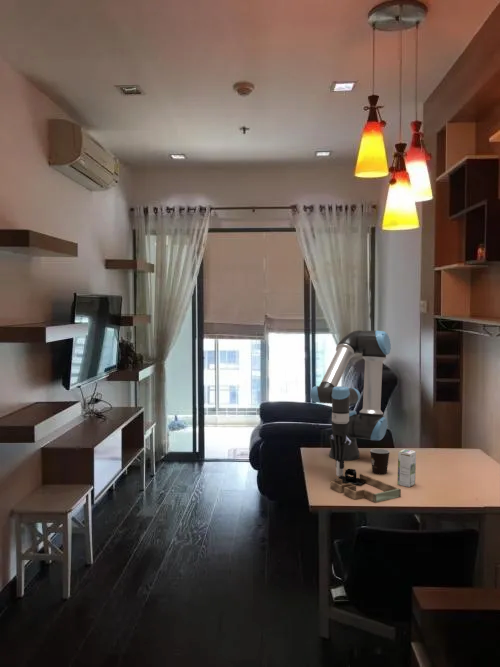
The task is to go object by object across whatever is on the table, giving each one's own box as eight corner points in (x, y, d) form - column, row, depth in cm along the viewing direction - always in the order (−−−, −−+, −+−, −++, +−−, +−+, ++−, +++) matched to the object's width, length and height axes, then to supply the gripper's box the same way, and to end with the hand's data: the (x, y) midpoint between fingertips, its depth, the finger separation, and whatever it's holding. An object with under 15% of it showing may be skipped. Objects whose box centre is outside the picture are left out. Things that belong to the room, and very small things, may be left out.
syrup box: (402, 481, 235) (403, 448, 234) (415, 484, 231) (416, 450, 231) (397, 484, 230) (397, 451, 230) (410, 487, 227) (410, 453, 226)
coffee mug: (389, 475, 243) (389, 453, 243) (370, 474, 245) (370, 452, 245) (388, 468, 255) (388, 447, 254) (369, 467, 256) (369, 446, 256)
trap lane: (327, 486, 228) (327, 479, 228) (360, 480, 237) (361, 473, 237) (365, 504, 207) (365, 496, 207) (400, 496, 216) (400, 489, 216)
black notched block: (334, 480, 235) (333, 470, 235) (341, 476, 241) (341, 466, 241) (360, 484, 228) (360, 473, 228) (367, 479, 234) (367, 469, 234)
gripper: (324, 420, 239) (323, 473, 240) (344, 425, 229) (343, 480, 229) (336, 418, 243) (336, 470, 244) (357, 423, 233) (356, 477, 234)
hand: (339, 475), depth 237 cm, fingers closed
